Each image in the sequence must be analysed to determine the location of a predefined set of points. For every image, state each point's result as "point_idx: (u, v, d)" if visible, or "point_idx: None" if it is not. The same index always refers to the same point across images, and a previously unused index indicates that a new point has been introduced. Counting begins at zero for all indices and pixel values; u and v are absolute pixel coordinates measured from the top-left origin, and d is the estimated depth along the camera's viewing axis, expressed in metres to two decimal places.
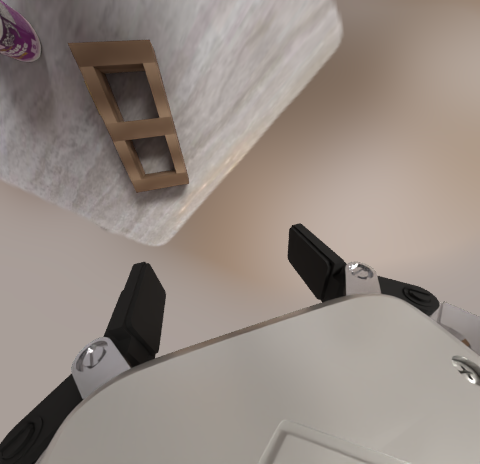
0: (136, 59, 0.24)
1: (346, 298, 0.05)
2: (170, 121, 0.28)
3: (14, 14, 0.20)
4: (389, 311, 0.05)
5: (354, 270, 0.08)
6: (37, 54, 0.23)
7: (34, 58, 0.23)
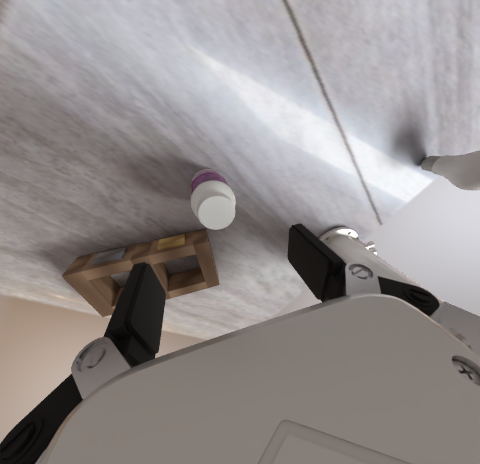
0: (206, 278, 0.30)
1: (346, 298, 0.05)
2: (167, 298, 0.30)
3: None
4: (389, 311, 0.05)
5: (354, 270, 0.08)
6: None
7: None
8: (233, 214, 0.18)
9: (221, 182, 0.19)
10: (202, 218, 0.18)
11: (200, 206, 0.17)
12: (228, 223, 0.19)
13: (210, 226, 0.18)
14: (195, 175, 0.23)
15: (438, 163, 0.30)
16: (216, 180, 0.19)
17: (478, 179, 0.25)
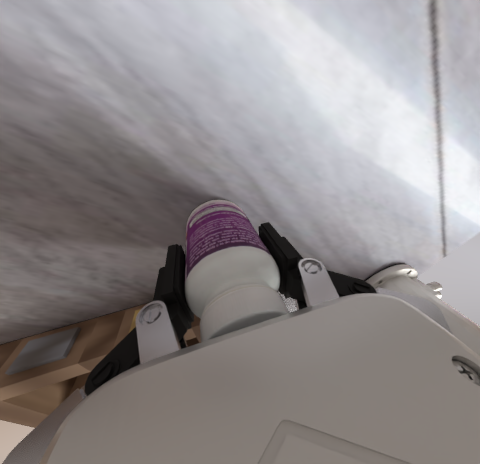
0: None
1: (346, 298, 0.05)
2: None
3: None
4: (389, 311, 0.05)
5: (306, 267, 0.08)
6: None
7: None
8: None
9: (255, 249, 0.08)
10: None
11: None
12: None
13: None
14: (194, 214, 0.12)
15: None
16: (243, 245, 0.08)
17: None
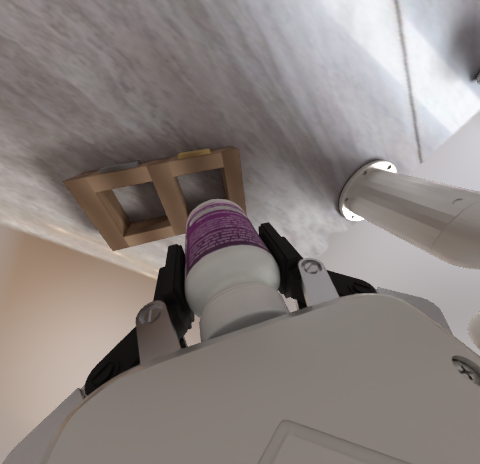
0: None
1: (346, 298, 0.05)
2: None
3: None
4: (389, 311, 0.05)
5: (306, 267, 0.08)
6: None
7: None
8: None
9: (255, 248, 0.08)
10: None
11: (209, 338, 0.06)
12: None
13: None
14: (194, 213, 0.12)
15: None
16: (243, 244, 0.08)
17: None
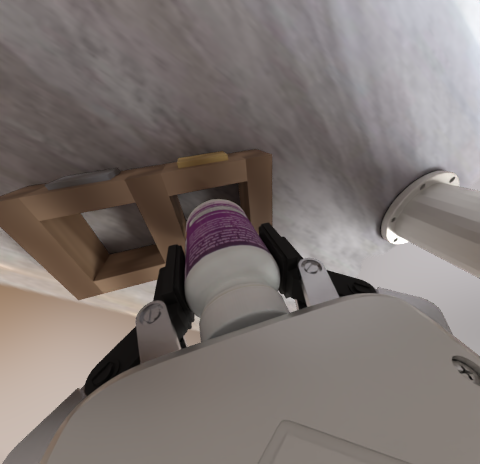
0: None
1: (346, 298, 0.05)
2: None
3: None
4: (389, 311, 0.05)
5: (306, 267, 0.08)
6: None
7: None
8: None
9: (254, 248, 0.08)
10: None
11: (209, 339, 0.06)
12: None
13: None
14: (194, 213, 0.12)
15: None
16: (243, 244, 0.08)
17: None
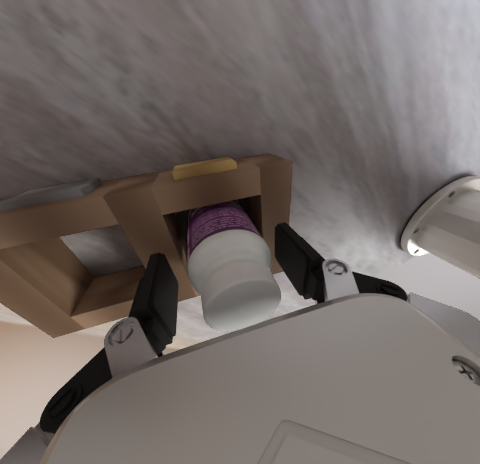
0: None
1: (346, 298, 0.05)
2: (187, 297, 0.15)
3: None
4: (389, 311, 0.05)
5: (330, 267, 0.08)
6: None
7: None
8: (276, 303, 0.09)
9: (249, 232, 0.10)
10: (213, 321, 0.08)
11: (209, 303, 0.07)
12: (264, 318, 0.09)
13: (229, 328, 0.09)
14: None
15: None
16: (239, 229, 0.09)
17: None
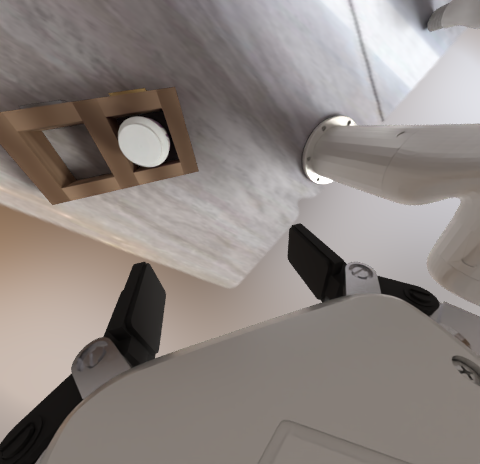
0: (181, 156, 0.24)
1: (346, 298, 0.05)
2: (134, 184, 0.24)
3: None
4: (389, 311, 0.05)
5: (354, 270, 0.08)
6: None
7: None
8: (158, 147, 0.18)
9: (147, 118, 0.19)
10: (125, 151, 0.18)
11: (119, 135, 0.17)
12: (155, 158, 0.19)
13: (136, 160, 0.18)
14: None
15: (449, 7, 0.25)
16: None
17: None
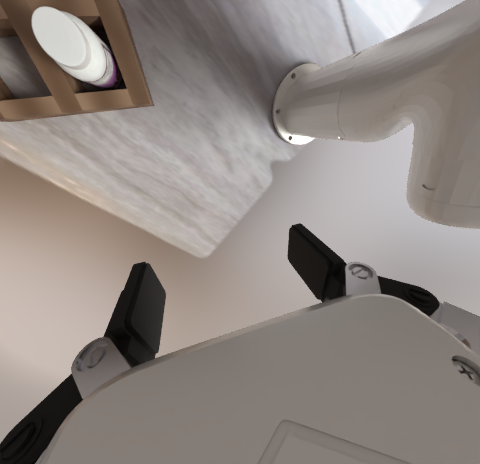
0: (127, 81, 0.23)
1: (346, 298, 0.05)
2: (76, 108, 0.23)
3: (108, 84, 0.23)
4: (389, 311, 0.05)
5: (354, 270, 0.08)
6: None
7: None
8: (82, 44, 0.17)
9: (75, 16, 0.17)
10: (42, 41, 0.16)
11: (32, 19, 0.15)
12: (80, 58, 0.17)
13: (57, 57, 0.17)
14: None
15: None
16: (70, 14, 0.17)
17: None
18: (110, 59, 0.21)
